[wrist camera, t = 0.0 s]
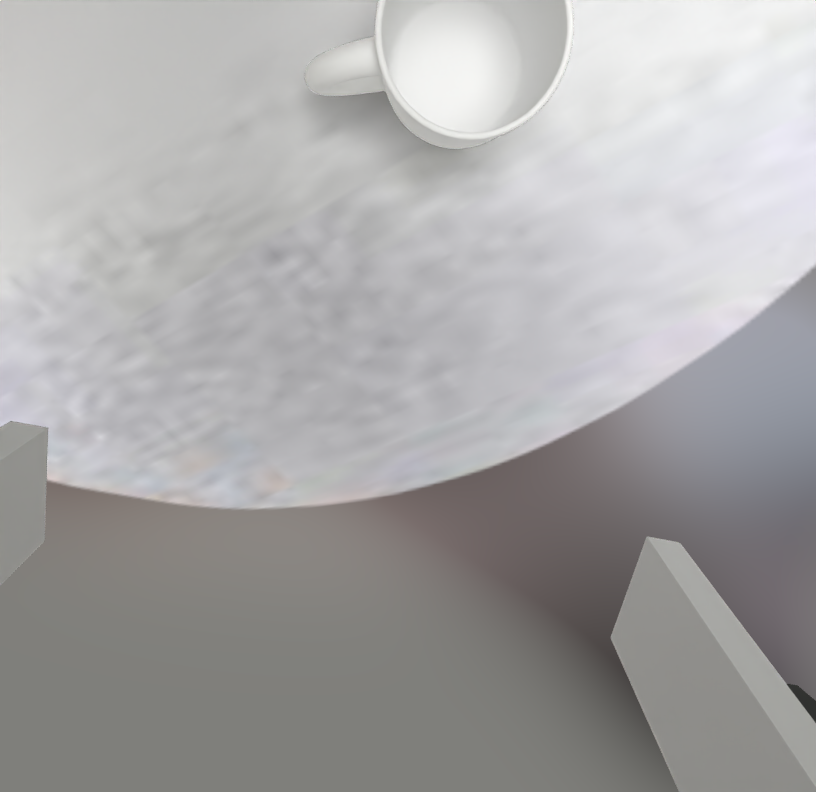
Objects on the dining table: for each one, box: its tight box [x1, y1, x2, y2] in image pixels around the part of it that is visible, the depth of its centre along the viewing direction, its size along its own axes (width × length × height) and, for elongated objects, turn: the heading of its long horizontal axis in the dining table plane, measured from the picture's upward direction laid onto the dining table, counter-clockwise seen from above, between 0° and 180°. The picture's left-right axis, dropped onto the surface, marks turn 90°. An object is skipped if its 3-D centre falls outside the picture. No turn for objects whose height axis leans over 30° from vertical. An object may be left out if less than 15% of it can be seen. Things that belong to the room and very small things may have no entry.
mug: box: [305, 0, 574, 149], centre depth 32 cm, size 12×8×10 cm
